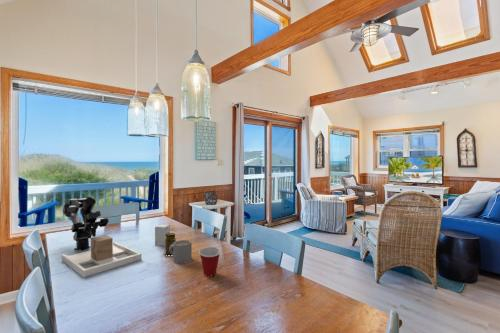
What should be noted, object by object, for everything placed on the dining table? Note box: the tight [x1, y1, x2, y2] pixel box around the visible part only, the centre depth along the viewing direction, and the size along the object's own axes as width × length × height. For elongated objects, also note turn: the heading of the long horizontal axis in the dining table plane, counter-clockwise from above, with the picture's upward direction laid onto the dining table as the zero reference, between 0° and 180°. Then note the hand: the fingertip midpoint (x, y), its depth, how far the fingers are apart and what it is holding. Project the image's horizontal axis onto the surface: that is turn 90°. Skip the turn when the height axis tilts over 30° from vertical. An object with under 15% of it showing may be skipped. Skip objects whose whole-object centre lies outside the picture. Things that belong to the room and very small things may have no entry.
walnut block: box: [90, 234, 114, 261], centre depth 143 cm, size 9×8×11 cm
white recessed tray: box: [61, 241, 142, 278], centre depth 143 cm, size 34×29×3 cm
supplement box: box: [154, 224, 171, 247], centre depth 170 cm, size 7×7×13 cm
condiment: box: [163, 232, 177, 258], centre depth 152 cm, size 7×8×12 cm
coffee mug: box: [170, 239, 193, 264], centre depth 144 cm, size 13×10×10 cm
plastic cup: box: [198, 246, 222, 277], centre depth 125 cm, size 11×11×12 cm
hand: (94, 236), depth 149 cm, fingers closed
